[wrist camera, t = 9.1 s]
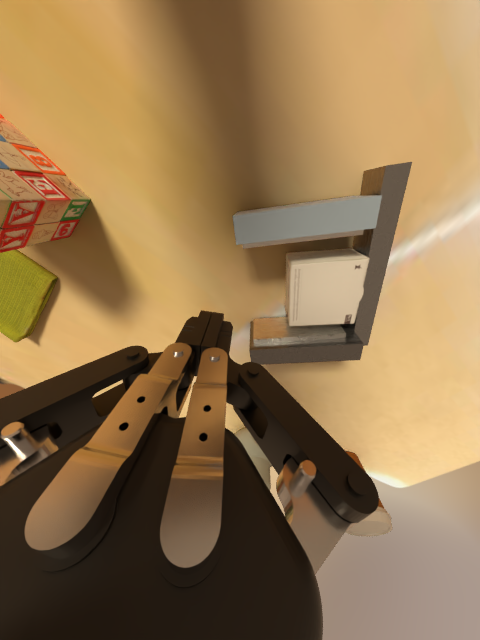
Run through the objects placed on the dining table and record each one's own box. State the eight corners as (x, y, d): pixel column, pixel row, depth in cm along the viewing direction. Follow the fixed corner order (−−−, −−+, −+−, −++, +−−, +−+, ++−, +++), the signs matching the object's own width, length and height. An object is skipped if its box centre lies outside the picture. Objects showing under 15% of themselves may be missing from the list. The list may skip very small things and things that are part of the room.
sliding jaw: (237, 211, 23) (232, 215, 18) (351, 195, 21) (382, 195, 16) (241, 240, 24) (237, 251, 19) (347, 227, 23) (374, 235, 18)
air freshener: (224, 433, 46) (217, 487, 38) (243, 415, 42) (240, 471, 34) (264, 450, 49) (266, 503, 40) (285, 434, 45) (293, 490, 36)
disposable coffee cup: (314, 461, 50) (329, 529, 39) (339, 442, 45) (364, 515, 35) (346, 471, 51) (368, 540, 41) (374, 454, 46) (407, 527, 36)
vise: (235, 190, 22) (228, 188, 16) (385, 167, 20) (436, 156, 14) (252, 334, 32) (251, 364, 26) (354, 328, 30) (378, 359, 24)
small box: (284, 251, 25) (290, 263, 21) (351, 246, 24) (372, 257, 20) (283, 308, 29) (288, 327, 25) (341, 305, 28) (356, 325, 24)
